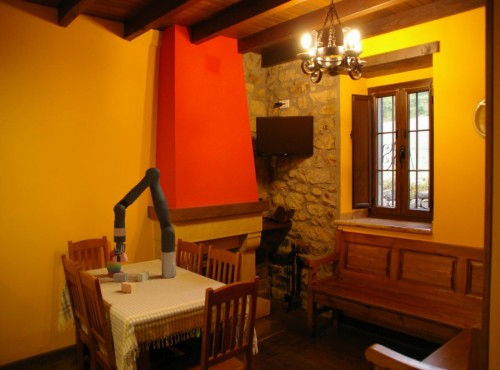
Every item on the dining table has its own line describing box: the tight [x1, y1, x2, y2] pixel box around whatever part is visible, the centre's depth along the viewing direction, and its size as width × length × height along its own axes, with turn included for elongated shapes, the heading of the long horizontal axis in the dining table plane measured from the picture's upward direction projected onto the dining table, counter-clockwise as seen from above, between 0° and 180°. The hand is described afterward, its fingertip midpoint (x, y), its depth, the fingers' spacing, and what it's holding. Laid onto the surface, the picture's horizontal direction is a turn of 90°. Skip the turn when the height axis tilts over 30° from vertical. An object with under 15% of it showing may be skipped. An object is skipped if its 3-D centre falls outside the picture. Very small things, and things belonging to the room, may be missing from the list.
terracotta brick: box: [113, 252, 129, 265], centre depth 263 cm, size 8×4×5 cm, turn 85°
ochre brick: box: [120, 281, 137, 294], centre depth 241 cm, size 8×4×5 cm, turn 63°
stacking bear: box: [106, 249, 125, 278], centre depth 278 cm, size 11×10×18 cm
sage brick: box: [137, 270, 150, 283], centre depth 266 cm, size 8×4×5 cm, turn 165°
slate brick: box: [112, 272, 128, 283], centre depth 263 cm, size 8×4×5 cm, turn 84°
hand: (120, 260), depth 263 cm, fingers closed on terracotta brick, 3 cm apart
